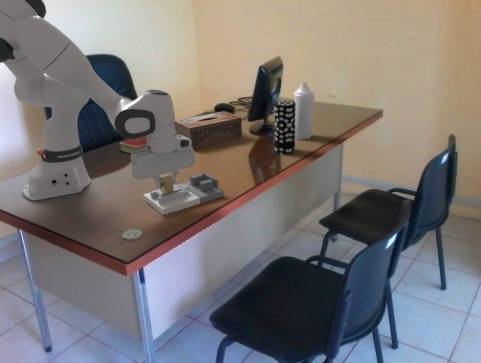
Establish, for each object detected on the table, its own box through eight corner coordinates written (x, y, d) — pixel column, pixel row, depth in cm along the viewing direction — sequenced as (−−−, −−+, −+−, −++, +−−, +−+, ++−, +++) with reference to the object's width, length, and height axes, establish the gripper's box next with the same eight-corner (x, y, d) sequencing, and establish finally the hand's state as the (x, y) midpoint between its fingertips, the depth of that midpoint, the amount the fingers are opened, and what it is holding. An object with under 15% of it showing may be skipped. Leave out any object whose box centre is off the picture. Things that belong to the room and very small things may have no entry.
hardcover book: (119, 151, 198) (118, 142, 197) (155, 138, 214) (154, 130, 212) (139, 156, 192) (138, 146, 190) (174, 142, 207) (173, 133, 206)
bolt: (161, 200, 145) (159, 180, 142) (156, 197, 147) (154, 176, 145) (189, 192, 150) (187, 172, 147) (183, 188, 153) (182, 169, 150)
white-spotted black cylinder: (297, 149, 193) (298, 101, 185) (291, 155, 186) (291, 106, 178) (278, 147, 196) (278, 100, 188) (271, 153, 189) (271, 104, 182)
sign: (110, 219, 138) (145, 232, 130) (110, 222, 139) (145, 235, 130) (95, 226, 134) (131, 240, 126) (96, 229, 135) (132, 243, 127)
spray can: (320, 137, 207) (322, 80, 198) (305, 143, 200) (307, 84, 190) (299, 132, 215) (300, 77, 205) (284, 137, 208) (285, 81, 198)
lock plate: (163, 215, 141) (161, 200, 139) (143, 200, 151) (141, 185, 149) (223, 196, 152) (223, 182, 150) (201, 183, 163) (200, 169, 161)
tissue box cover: (225, 131, 220) (224, 111, 216) (242, 139, 209) (241, 117, 205) (175, 142, 207) (174, 120, 203) (191, 151, 196) (189, 128, 192)
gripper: (134, 153, 133) (139, 197, 138) (196, 139, 144) (199, 180, 149) (125, 148, 138) (131, 190, 143) (186, 134, 149) (189, 174, 154)
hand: (166, 185), depth 146 cm, fingers closed on bolt, 3 cm apart
